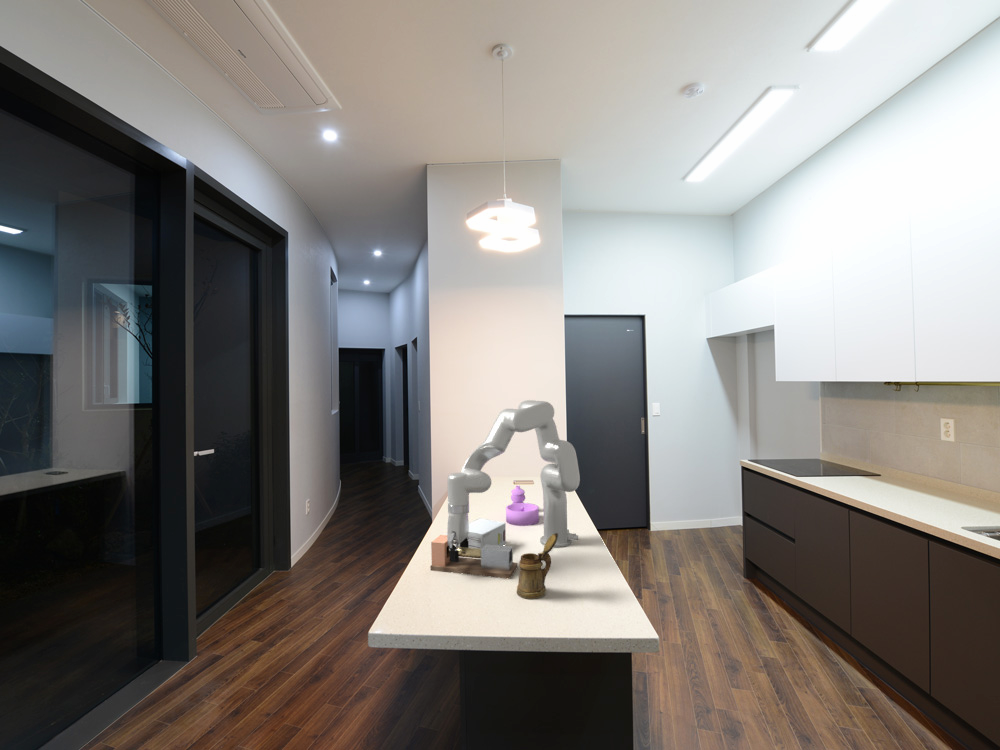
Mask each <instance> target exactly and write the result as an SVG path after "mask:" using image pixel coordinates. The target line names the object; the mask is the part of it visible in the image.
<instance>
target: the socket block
mask: <svg viewBox="0 0 1000 750" xmlns="http://www.w3.org/2000/svg"><path fill="white" fill-rule="evenodd" d="M430 545H431V546H430V547H431V565H438V566H445V565H446V564H447V563H449V562H450V556H449V555H447V546H449V544H448V542H447V534H440V535H438V536H437V537H436V538H434V539H433V540H431V542H430Z"/></svg>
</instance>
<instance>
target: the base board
mask: <svg viewBox="0 0 1000 750" xmlns="http://www.w3.org/2000/svg"><path fill="white" fill-rule="evenodd" d="M516 568H517V569H518V562H514V561H513V566H512V567H511V569H510V570H509V571H504V570H494V569H485V568H481V559H480V558H469V557H459V562H449V563H447V564H446V565H445V566H438V565H432V564H431V565H430V571H434V572H441V573H442V572H444V573H451V572H453V574H461V573H463V574H462V575H470V574H471V575H470V576H479V575H482V576H481V577H488V576H491V577H490V578H492V577H493V578H498V577H500V579H507V578H508V579H509V580H510V579H511V578H512V577H513V575H514V573H515V572H516V570H517V569H516ZM472 574H473V575H472ZM511 576H512V577H511Z"/></svg>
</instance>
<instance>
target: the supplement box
mask: <svg viewBox="0 0 1000 750" xmlns="http://www.w3.org/2000/svg"><path fill="white" fill-rule="evenodd" d="M506 523H507V522H503V521H498V520H493V519H492V520H491V519H486V518H477V519H475V520H473V521H471V522H469V534H468V537H469V540H467V541H469V548H477V549H482V548H483V546H484V545H485V544H488V545H499V546H503V545H505V544H507V543H506V542H507V540H506V539H507V537H506V536H507V535H506V530H507V529H506ZM454 545H455V547H456V544H454ZM505 546H506V545H505ZM458 547H460V544H459V546H458Z"/></svg>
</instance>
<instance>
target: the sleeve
mask: <svg viewBox="0 0 1000 750" xmlns="http://www.w3.org/2000/svg"><path fill="white" fill-rule="evenodd" d="M513 548H514V547H513V546H508V545H505V546H499V545H488V544H485V545H484V546H483V548H482V549H481V568H485V569H494V570H504V571H509V570H510V569H511V567H512V566H513V562H514V561H513V560H514V556H513V555H514V552H513Z"/></svg>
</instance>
